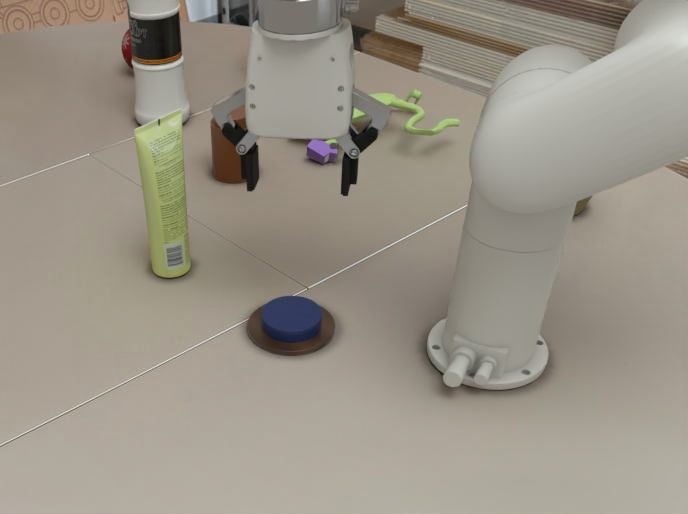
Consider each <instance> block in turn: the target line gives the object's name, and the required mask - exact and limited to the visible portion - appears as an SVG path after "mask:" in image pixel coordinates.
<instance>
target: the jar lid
mask: <svg viewBox="0 0 688 514" xmlns="http://www.w3.org/2000/svg"><path fill="white" fill-rule="evenodd" d="M265 304H266V305H265ZM265 304H264V305H265V306H264V307H263V309H262V329H263V331H264V332H265V333H266V334H267V335H268V336H269V337H271V338H273V339H275V340H278V341H282V342H288V343H294V342H302V341H306V340H308V339H311V338H312V337H314V336H315V335H316V334H318V332H319V331H320V329H321V325H322V310H321V308H320V306H321V305H320V304H318V303H317V302H316V301H314V300H313V299H310V298H308V297H304V296H301V295H283V296H279V297H276V298H273V299H271V300H269V301H268V302H267V303H265ZM319 305H320V306H319Z"/></svg>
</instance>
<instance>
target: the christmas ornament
mask: <svg viewBox="0 0 688 514" xmlns="http://www.w3.org/2000/svg"><path fill="white" fill-rule="evenodd" d="M121 54H122V58H123V60H124V62H125V63H126V64H127V66H128V67H129V68H131V70H133V65H132V59H133V57H132V48H131V39H130V29H129V28H128V29H127V30H126V32H125V33H124V35H123V37H122V41H121Z"/></svg>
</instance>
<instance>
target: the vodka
mask: <svg viewBox="0 0 688 514" xmlns="http://www.w3.org/2000/svg"><path fill="white" fill-rule="evenodd" d="M125 2H126V10H127V20H128V29H130V39H131V48H132V57H133V59H132V65H133V69H132V70H133V75H134V94H135V96H134V97H135V98H134V101H135V102H134V107H133V108H134V109H133V110H134V118H135V119H136V122H137V124H139V125H140V126H143V125H145V124H148V123H150V122H152V121H154V120H156V119H159V118H161V117H163V116H165V115H167V114H169V113H171V112H173V111H175V110H177V109H179V108H181V113H182V125H183V124H184V123H186V122H187V121H188V120H189V118H190V115H191V104H190V102H189V98H188V93H187V88H186V82H185V81H186V80H185V73H184V61H185V57H184V55H183V47H182V45H183V44H182V33H181V18H180V17H181V16H180V10H181V3H180V0H125Z"/></svg>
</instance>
